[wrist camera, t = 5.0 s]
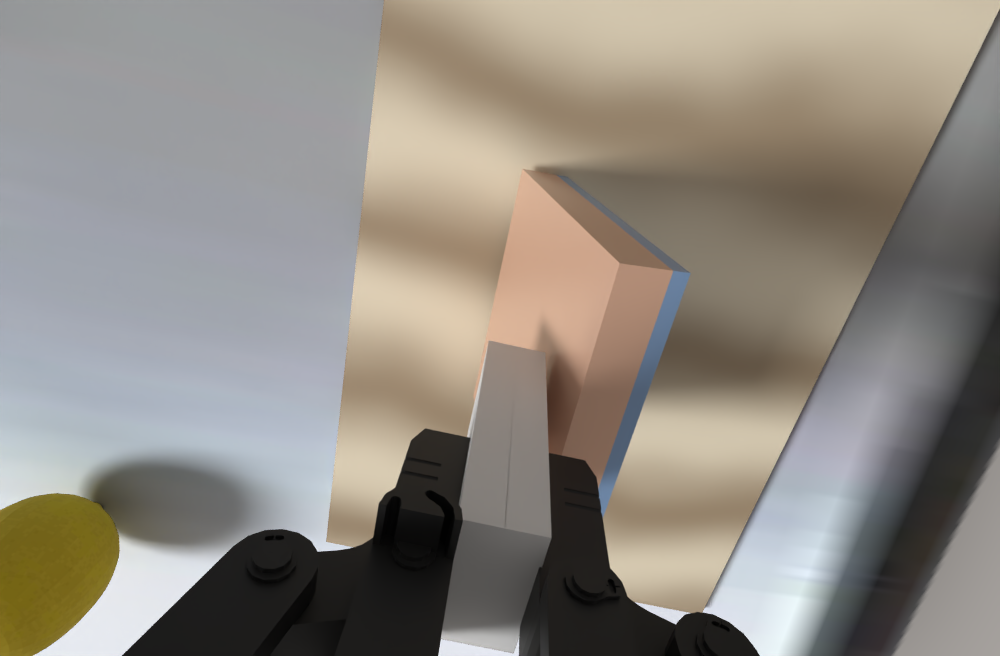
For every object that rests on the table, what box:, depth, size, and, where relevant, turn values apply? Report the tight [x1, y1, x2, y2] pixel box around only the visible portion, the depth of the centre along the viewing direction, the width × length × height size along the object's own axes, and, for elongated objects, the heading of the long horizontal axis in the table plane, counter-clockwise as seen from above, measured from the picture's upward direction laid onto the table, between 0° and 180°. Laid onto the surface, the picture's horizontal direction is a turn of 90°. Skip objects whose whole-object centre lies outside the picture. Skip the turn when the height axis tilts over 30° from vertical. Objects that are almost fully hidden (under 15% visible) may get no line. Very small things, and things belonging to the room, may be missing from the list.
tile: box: [473, 169, 691, 517], centre depth 18 cm, size 9×2×9 cm, turn 168°
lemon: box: [0, 493, 119, 656], centre depth 24 cm, size 6×6×8 cm
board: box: [326, 0, 1000, 613], centre depth 22 cm, size 28×18×1 cm, turn 168°
